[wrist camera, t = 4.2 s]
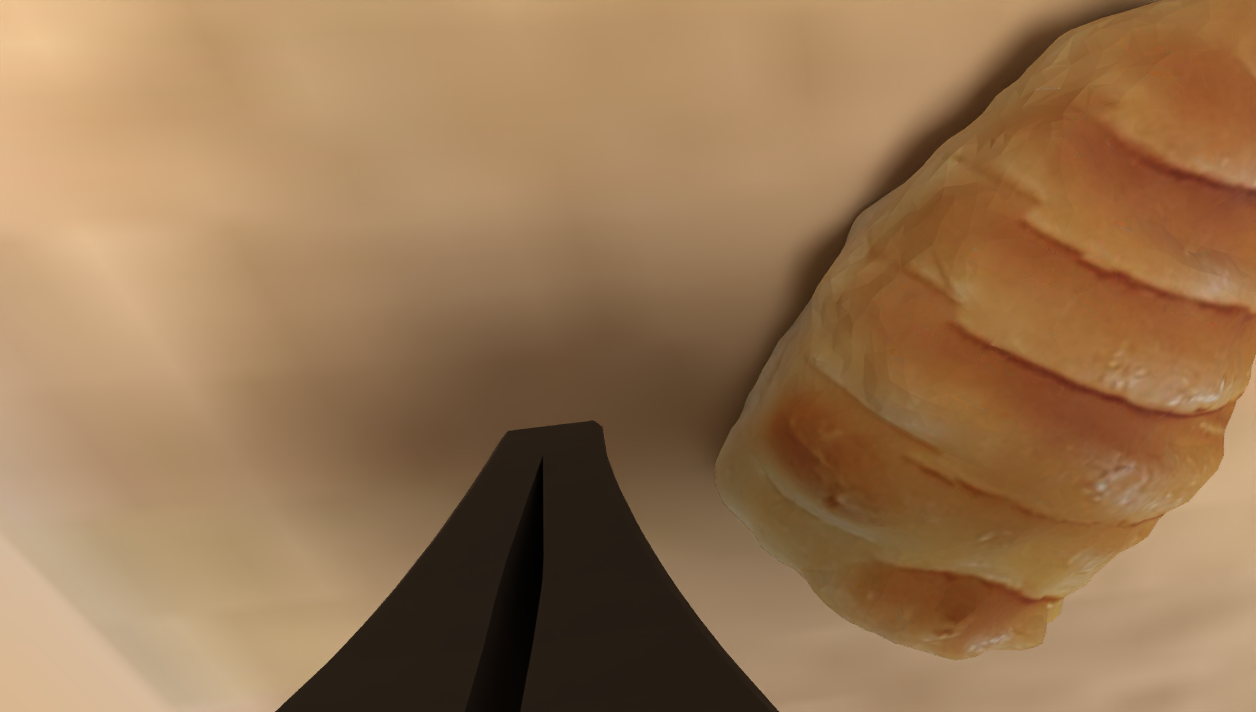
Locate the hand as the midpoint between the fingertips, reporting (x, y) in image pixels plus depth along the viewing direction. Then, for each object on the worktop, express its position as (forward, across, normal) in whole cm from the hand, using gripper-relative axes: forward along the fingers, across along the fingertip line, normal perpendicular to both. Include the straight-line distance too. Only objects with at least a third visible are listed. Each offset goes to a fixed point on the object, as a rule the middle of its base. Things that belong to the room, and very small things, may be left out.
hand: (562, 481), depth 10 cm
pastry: (+2, -6, 0) cm, 7 cm away
